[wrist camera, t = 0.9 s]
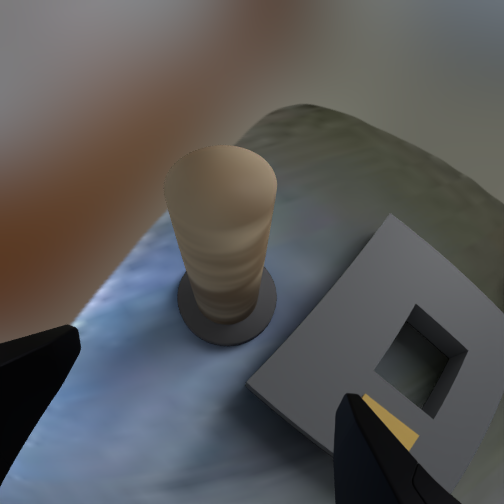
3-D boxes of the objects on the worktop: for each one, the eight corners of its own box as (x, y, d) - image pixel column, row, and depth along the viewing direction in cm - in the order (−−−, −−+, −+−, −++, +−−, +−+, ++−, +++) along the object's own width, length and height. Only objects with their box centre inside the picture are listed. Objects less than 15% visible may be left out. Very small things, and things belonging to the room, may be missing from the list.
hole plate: (415, 510, 16) (435, 517, 13) (245, 385, 22) (246, 381, 19) (504, 342, 23) (523, 333, 21) (379, 230, 30) (391, 211, 27)
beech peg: (227, 337, 23) (217, 251, 11) (183, 294, 24) (142, 184, 13) (270, 294, 25) (299, 182, 13) (226, 256, 26) (222, 132, 15)
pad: (227, 366, 22) (227, 364, 22) (160, 298, 25) (157, 294, 24) (294, 297, 26) (296, 293, 25) (227, 241, 28) (226, 235, 27)
